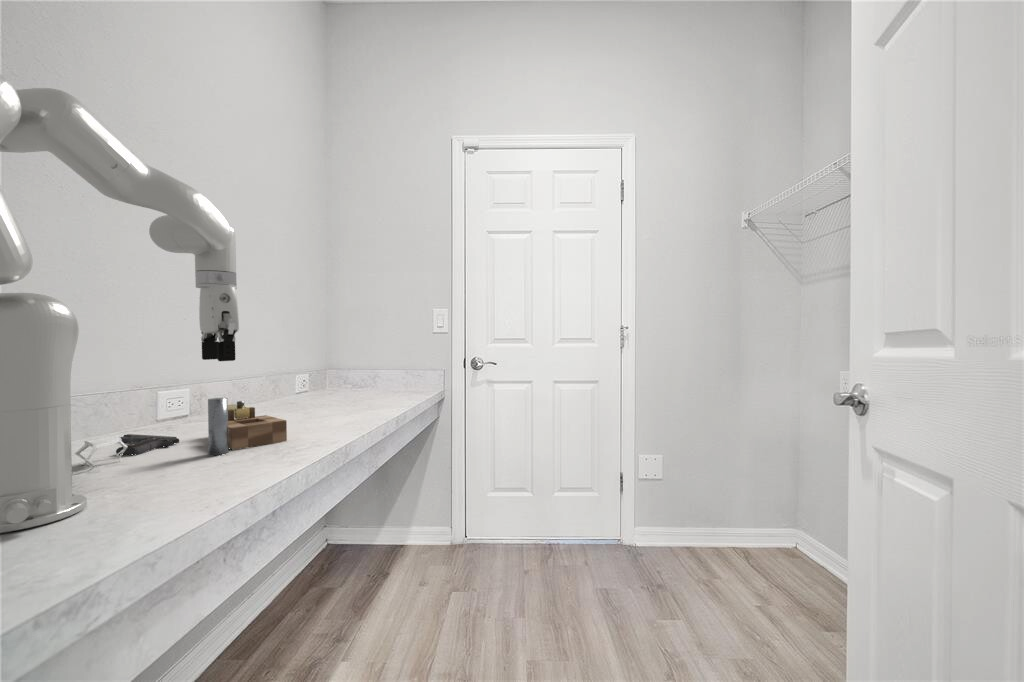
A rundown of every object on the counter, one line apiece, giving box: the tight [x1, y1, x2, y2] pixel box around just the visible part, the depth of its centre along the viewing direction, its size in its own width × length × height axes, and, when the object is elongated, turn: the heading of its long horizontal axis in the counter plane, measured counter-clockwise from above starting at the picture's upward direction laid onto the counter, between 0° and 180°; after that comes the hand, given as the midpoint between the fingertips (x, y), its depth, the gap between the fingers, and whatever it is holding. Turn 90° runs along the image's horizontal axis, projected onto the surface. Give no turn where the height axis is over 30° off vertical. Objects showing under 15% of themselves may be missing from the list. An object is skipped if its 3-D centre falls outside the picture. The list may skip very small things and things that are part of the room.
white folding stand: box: [74, 434, 128, 471], centre depth 92 cm, size 12×8×5 cm
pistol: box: [115, 433, 180, 456], centre depth 107 cm, size 2×19×12 cm
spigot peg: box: [207, 397, 229, 456], centre depth 100 cm, size 4×4×12 cm
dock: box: [228, 406, 288, 451], centre depth 112 cm, size 12×12×8 cm
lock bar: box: [228, 400, 250, 419], centre depth 117 cm, size 10×3×4 cm, turn 50°
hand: (218, 360), depth 100 cm, fingers open, 9 cm apart
